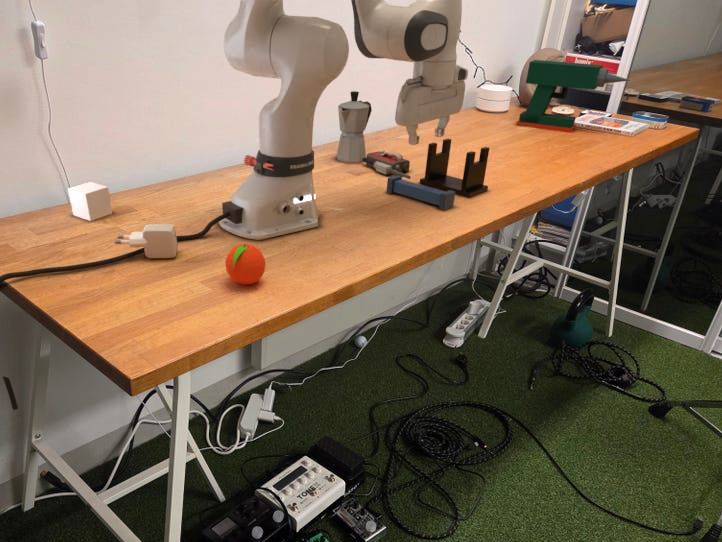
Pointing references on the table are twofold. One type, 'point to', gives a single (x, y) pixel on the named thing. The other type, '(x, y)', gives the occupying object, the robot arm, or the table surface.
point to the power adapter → (153, 240)
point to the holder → (463, 187)
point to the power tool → (566, 77)
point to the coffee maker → (353, 129)
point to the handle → (421, 192)
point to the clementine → (245, 264)
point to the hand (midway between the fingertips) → (426, 140)
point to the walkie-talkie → (388, 163)
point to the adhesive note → (90, 201)
